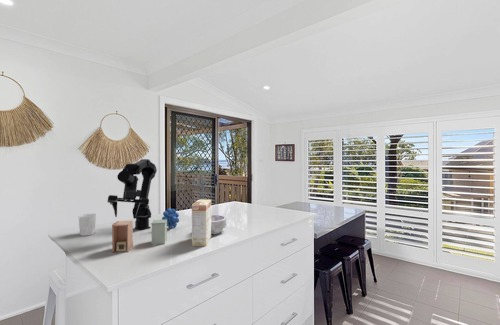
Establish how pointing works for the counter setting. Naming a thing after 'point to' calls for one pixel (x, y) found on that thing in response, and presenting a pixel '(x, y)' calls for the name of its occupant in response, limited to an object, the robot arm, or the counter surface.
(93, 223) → the white cup
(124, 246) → the maple cube
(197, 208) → the coffeecake box
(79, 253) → the counter surface
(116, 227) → the terracotta cover
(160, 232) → the sage canister
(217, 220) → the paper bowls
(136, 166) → the robot arm
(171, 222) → the grapes
